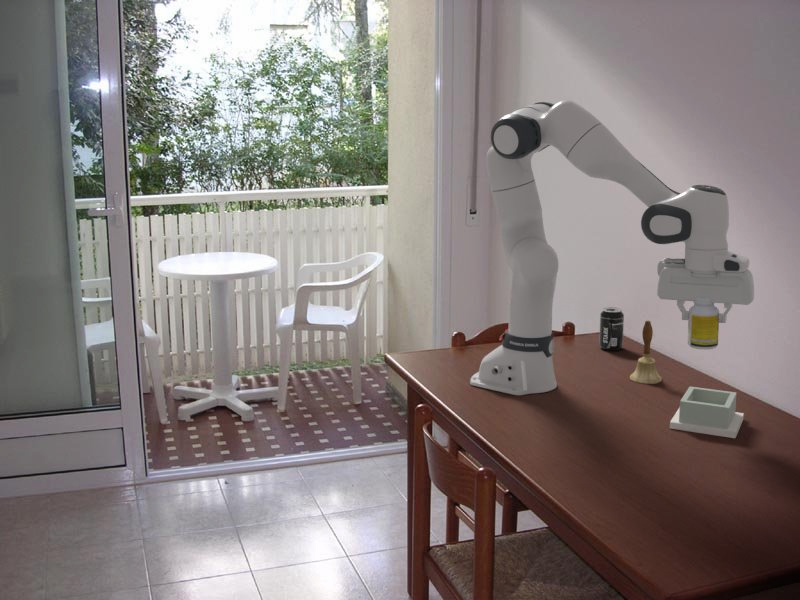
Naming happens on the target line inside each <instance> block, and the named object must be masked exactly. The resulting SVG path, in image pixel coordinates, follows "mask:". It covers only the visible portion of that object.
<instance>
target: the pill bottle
mask: <svg viewBox="0 0 800 600" xmlns="http://www.w3.org/2000/svg"><path fill="white" fill-rule="evenodd" d="M692 302H693V305H692V306H690V308H689V309H688V311H689V316H688V320H687V321H688V322H687V323H688V324H687V325H688V327H687V345H688V346H689V347H690V348H692V349H696V350H704V351H706V350H707V351H709V350H713V349H716V348H717V347H718V346H719V331H720V330H719V329H720V328H719V327H720V326H719V323H718V320H719V318H718V315H719V314H720V310H719V307H717V306H716V305H715V303H711V302H710V301H709V298H697V299H696V301H692Z"/></svg>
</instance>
